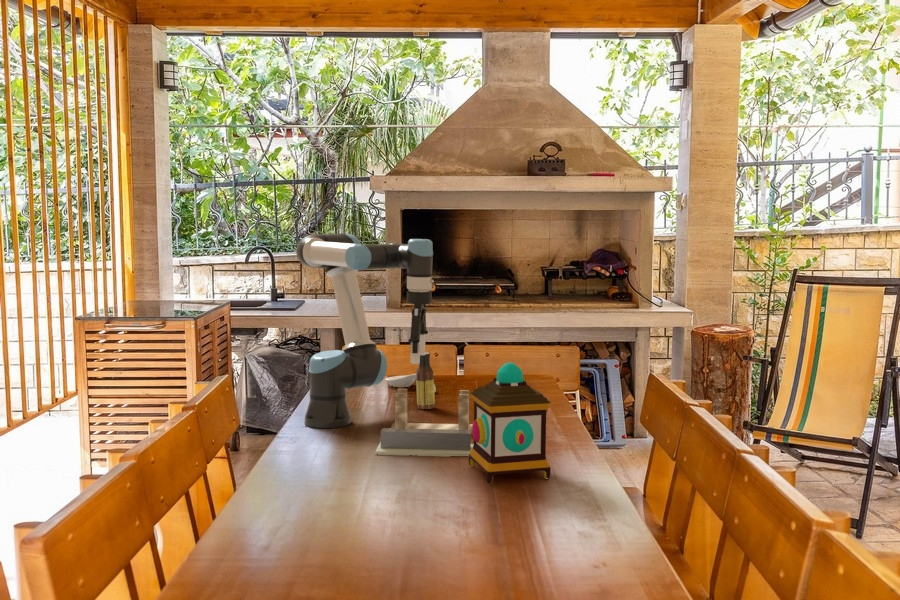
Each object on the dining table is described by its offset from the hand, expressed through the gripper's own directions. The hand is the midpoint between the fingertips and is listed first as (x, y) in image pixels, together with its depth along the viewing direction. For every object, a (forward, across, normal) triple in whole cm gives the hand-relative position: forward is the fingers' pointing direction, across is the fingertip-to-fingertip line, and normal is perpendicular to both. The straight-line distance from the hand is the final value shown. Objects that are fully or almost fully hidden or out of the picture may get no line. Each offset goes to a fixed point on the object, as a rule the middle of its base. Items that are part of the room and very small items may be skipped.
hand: (417, 359), depth 259 cm
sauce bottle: (+26, +39, +2) cm, 47 cm away
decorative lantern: (+23, -33, -29) cm, 50 cm away
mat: (+24, -15, -5) cm, 29 cm away
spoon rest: (+27, +72, +11) cm, 77 cm away
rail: (+23, -15, -5) cm, 28 cm away
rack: (+25, +9, -4) cm, 26 cm away
